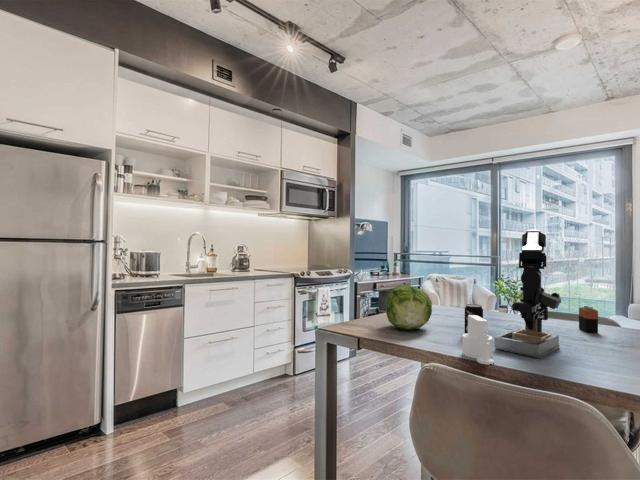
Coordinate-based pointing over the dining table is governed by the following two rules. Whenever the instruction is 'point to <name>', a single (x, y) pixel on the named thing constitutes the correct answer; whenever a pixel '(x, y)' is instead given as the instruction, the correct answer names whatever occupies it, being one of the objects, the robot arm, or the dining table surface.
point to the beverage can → (472, 313)
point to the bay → (526, 345)
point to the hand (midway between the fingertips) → (531, 329)
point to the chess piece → (485, 351)
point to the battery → (588, 319)
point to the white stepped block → (475, 338)
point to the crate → (530, 334)
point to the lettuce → (408, 307)
